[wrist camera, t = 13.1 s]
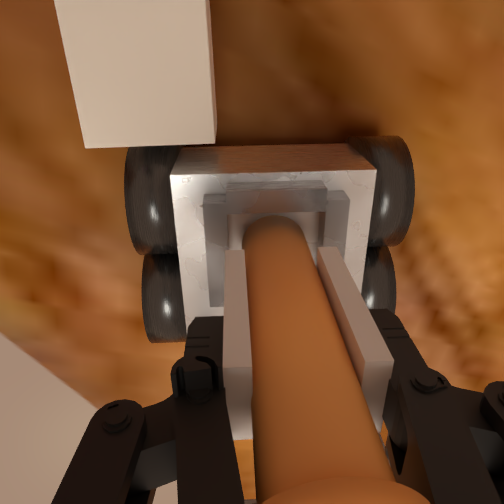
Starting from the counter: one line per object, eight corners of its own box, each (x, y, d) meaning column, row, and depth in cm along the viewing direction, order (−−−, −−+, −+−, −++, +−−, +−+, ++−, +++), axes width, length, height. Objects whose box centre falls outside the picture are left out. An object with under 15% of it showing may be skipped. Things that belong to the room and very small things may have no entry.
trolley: (139, 131, 24) (9, 269, 10) (383, 125, 24) (594, 249, 10) (163, 305, 29) (102, 552, 15) (361, 297, 30) (477, 530, 16)
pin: (229, 206, 19) (228, 546, 6) (318, 203, 19) (490, 531, 6) (232, 282, 20) (237, 661, 8) (313, 279, 21) (439, 648, 8)
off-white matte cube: (90, 5, 21) (53, -4, 16) (209, 2, 21) (204, -8, 17) (112, 127, 24) (85, 148, 19) (217, 123, 24) (214, 143, 19)
